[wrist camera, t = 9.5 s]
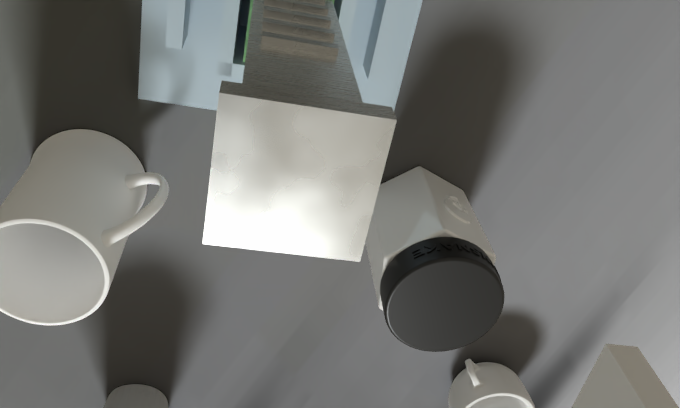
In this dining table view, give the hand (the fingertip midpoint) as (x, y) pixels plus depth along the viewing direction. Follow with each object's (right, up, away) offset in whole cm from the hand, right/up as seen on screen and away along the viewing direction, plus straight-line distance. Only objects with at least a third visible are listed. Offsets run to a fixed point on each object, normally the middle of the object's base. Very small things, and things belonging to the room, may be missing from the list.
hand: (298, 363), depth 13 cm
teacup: (+14, -13, +50) cm, 54 cm away
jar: (+7, +3, +40) cm, 41 cm away
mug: (-17, +6, +36) cm, 40 cm away
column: (-2, +14, +23) cm, 27 cm away
